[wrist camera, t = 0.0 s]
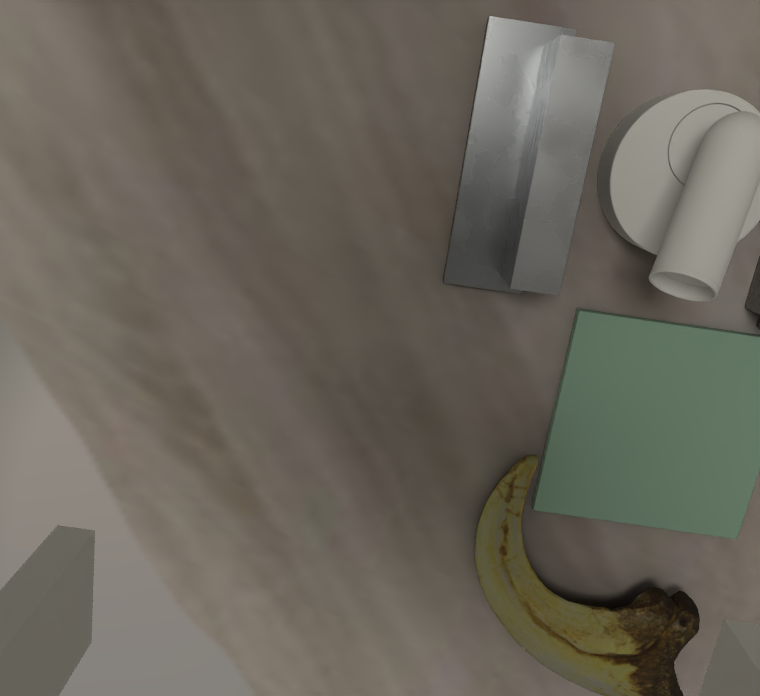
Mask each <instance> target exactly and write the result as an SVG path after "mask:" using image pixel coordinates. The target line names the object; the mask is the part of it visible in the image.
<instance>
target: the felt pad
mask: <svg viewBox="0 0 760 696" xmlns="http://www.w3.org/2000/svg"><path fill="white" fill-rule="evenodd" d="M759 470H760V335H755V334H748V333H741V332H735V331H728V330H721V329H714V328H707V327H701V326H694V325H687V324H680V323H673V322H666V321H660V320H653V319H646V318H639V317H632V316H625V315H619V314H612V313H605V312H598V311H591V310H585V309H578V308H577V311H576V315H575V319H574V324H573V328H572V332H571V337H570V341H569V345H568V350H567V354H566V358H565V363H564V367H563V371H562V376H561V380H560V384H559V389H558V393H557V397H556V402H555V406H554V410H553V415H552V419H551V423H550V428H549V432H548V437H547V441H546V445H545V450H544V454H543V458H542V463H541V467H540V471H539V476H538V480H537V484H536V489H535V493H534V497H533V502H532V508H533V510H535V511H542V512H549V513H556V514H563V515H570V516H577V517H584V518H591V519H598V520H605V521H613V522H620V523H627V524H634V525H641V526H648V527H655V528H662V529H669V530H676V531H683V532H690V533H697V534H704V535H711V536H718V537H725V538H732V539H737V537H738V534H739V531H740V528H741V525H742V522H743V519H744V516H745V513H746V510H747V507H748V504H749V501H750V497H751V494H752V491H753V488H754V485H755V482H756V479H757V476H758V473H759Z"/></svg>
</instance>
